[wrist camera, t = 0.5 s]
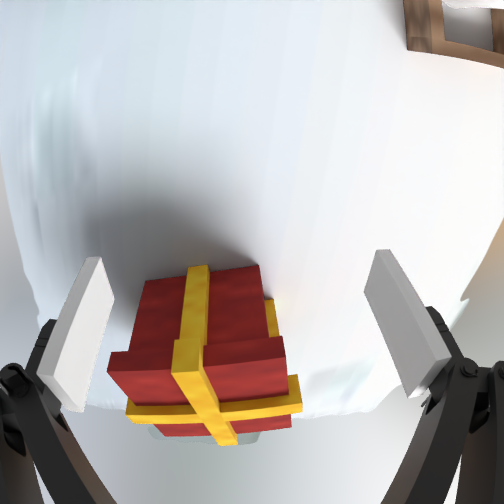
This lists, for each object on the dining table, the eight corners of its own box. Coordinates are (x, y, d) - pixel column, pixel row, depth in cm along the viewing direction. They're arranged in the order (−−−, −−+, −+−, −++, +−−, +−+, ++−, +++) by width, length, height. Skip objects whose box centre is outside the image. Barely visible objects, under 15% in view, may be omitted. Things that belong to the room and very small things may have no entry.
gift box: (168, 358, 63) (159, 446, 47) (122, 268, 49) (87, 374, 32) (286, 345, 63) (302, 436, 46) (277, 245, 48) (301, 358, 32)
